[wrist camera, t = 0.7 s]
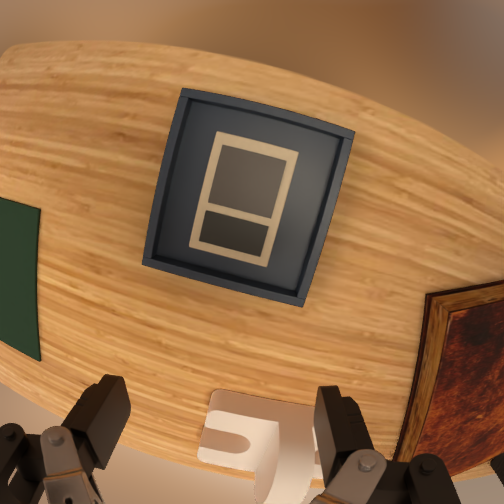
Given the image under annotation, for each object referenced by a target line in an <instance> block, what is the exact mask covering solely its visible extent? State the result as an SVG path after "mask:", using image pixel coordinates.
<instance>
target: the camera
mask: <svg viewBox="0 0 504 504" xmlns="http://www.w3.org/2000/svg"><path fill="white" fill-rule="evenodd" d="M490 465H491V467H492V468H493V470H494V471H495V473H496V474H497V476H498V478H499V479H500V481H501V482H502V484H503V486H504V453H503V454H501V455H499V456H497V457H495V458H494V459H493V460H492V462H491V464H490Z"/></svg>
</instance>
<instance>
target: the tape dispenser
mask: <svg viewBox="0 0 504 504" xmlns="http://www.w3.org/2000/svg"><path fill="white" fill-rule="evenodd" d="M314 410H315V406H309V405H302V404H296V403H289V402H283V401H278V400H272V399H267V398H262V397H257V396H252V395H247V394H242V393H238V392H233V391H229V390H224V389H218V390H215V391H214V392H213V393H212V395H211V399H210V403H209V407H208V412H207V416H206V421H205V425H204V427H203V431H202V435H201V439H200V444H199V448H198V453H197V458H198V459H199V460H200V461H202V462H205V463H209V464H214V465H218V466H223V467H228V468H234V469H239V470H245V471H251V472H255V485H254V494H255V500H256V503H257V504H301V503H302V501H303V500H304V498H305V496H306V494H307V492H308V489H309V487H310V484H311V480H312V478H316V479H323V474H322V468H321V463H320V457H319V452H318V446H317V441H316V435H315V430H314Z"/></svg>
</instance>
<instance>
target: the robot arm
mask: <svg viewBox="0 0 504 504" xmlns="http://www.w3.org/2000/svg"><path fill="white" fill-rule="evenodd" d="M130 412H131V404H130V400H129V396H128V393H127V389H126V385H125V381H124V378H123V377H121V376H115V375H109V374H105V375H104V376H103V377H102V379H101V380H100V382H99V383H98V384H95V383H94V384H93V385H91V386H90V387H88V388H87V389H85V391H84V392H83V394H82V395H81V397H80V399H78V401H77V402H76V405H74V407H73V408H72V410H71V411H70V412H69V414H68V415H67V417H66V418H65V420H64V421H63V423H62V424H61V426H53V427H50V428H48V429H46V430H45V431H44V432H43V433H42V435H35V434H25V432H24V430H23V428H22V427H21V426H20V425H18V424H15V423H8V424H5V425H3V426H1V427H0V504H38V502H39V500H40V498H41V496H42V494H43V492H44V490H45V491H46V495H47V500H48V503H49V504H105V502H104V500H103V498H102V495H101V493H100V490H99V488H98V485H97V483H96V480H95V478H94V475H93V473H92V472H93V470H94V468H99V469H102V470H104V469H105V468H106V465H107V463H108V461H109V459H110V456H111V455H112V452H113V450H114V448H115V446H116V444H117V442H118V439H119V437H120V435H121V433H122V431H123V429H124V427H125V425H126V423H127V420H128V418H129V416H130ZM314 430H315V435H316V441H317V446H318V452H319V457H320V463H321V468H322V474H323V480H324V486H325V488H326V489H325V490H324V492H323V493H322V494H321V495H320V494H319V495H317V496H316V497H315V498H314V499H313V500H312V501H311V503H310V504H461V502H460V499H459V497H458V494H457V492H456V489H455V487H454V485H453V482H452V480H451V477H450V475H449V473H448V470H447V468H446V466H445V463H444V462H443V460H442V459H441V458H440V457H438V456H437V455H434V454H430V453H423V454H419V455H417V456H415V457H414V458H413V459H412V460H411V462H396V461H390V460H387V459H385V457H384V456H383V455H382V454H381V453H379V452H378V451H375V449H374V447H373V444H372V441H371V438H370V436H369V433H368V430H367V427H366V425H365V422H364V419H363V417H362V415H361V411H360V408H359V406H358V404H357V403H356V402H355V401H354V400H353V399H352V398H351V397H341V394H340V391H339V388H338V386H337V385H335V386H319V387H318V391H317V397H316V404H315V410H314ZM15 467H16V469H17V472H16V473H15V475H14V477H13V478H12V480H11V482H10V484H9V486H8V480H9V478H10V476H11V474H12V473H13V471H14V469H15Z"/></svg>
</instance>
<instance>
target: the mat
mask: <svg viewBox="0 0 504 504" xmlns="http://www.w3.org/2000/svg"><path fill="white" fill-rule="evenodd" d="M40 212H41V209H38V208H35V207H31V206H28V205H25V204H21V203H18V202H14V201H11V200H8V199H4V198H1V197H0V340H1V341H3V342H4V343H6V344H8V345H10V346H11V347H13V348H15V349H17V350H18V351H20V352H22V353H24V354H26V355H28V356H29V357H31V358H33V359H35V360H37V361H39V362H40V361H41V353H40V343H39V330H38V313H37V253H38V235H39V222H40Z"/></svg>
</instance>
